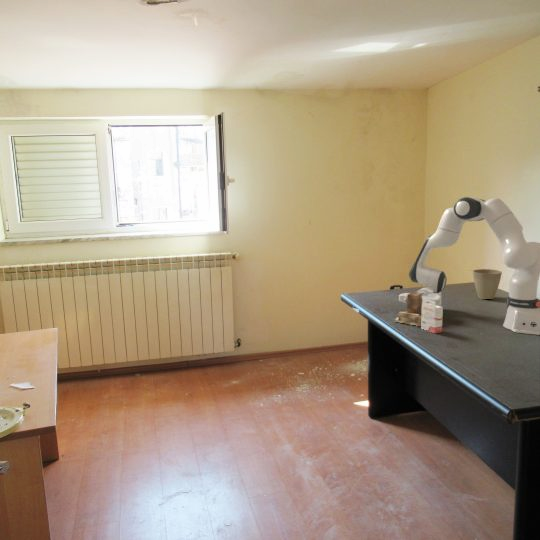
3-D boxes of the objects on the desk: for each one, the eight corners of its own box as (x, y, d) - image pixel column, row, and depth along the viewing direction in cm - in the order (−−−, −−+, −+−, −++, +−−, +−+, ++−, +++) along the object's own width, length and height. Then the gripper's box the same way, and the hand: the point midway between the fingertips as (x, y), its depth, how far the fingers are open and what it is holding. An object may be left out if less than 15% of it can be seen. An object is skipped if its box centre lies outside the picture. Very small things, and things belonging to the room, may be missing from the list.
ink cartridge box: (442, 332, 213) (444, 300, 210) (434, 333, 210) (435, 301, 208) (428, 327, 220) (429, 296, 218) (420, 328, 218) (421, 298, 215)
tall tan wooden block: (421, 316, 232) (422, 292, 230) (415, 320, 227) (416, 295, 224) (412, 315, 235) (412, 291, 233) (406, 318, 229) (407, 294, 227)
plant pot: (494, 295, 276) (496, 268, 273) (504, 301, 261) (506, 273, 259) (467, 295, 278) (469, 268, 275) (476, 301, 263) (477, 273, 260)
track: (433, 319, 232) (433, 308, 231) (422, 327, 220) (422, 315, 219) (405, 315, 240) (405, 304, 239) (393, 322, 229) (394, 311, 228)
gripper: (404, 288, 245) (394, 294, 234) (444, 293, 233) (435, 299, 222) (404, 300, 246) (393, 306, 236) (444, 305, 234) (434, 312, 223)
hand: (414, 302), depth 229 cm, fingers open, 8 cm apart
